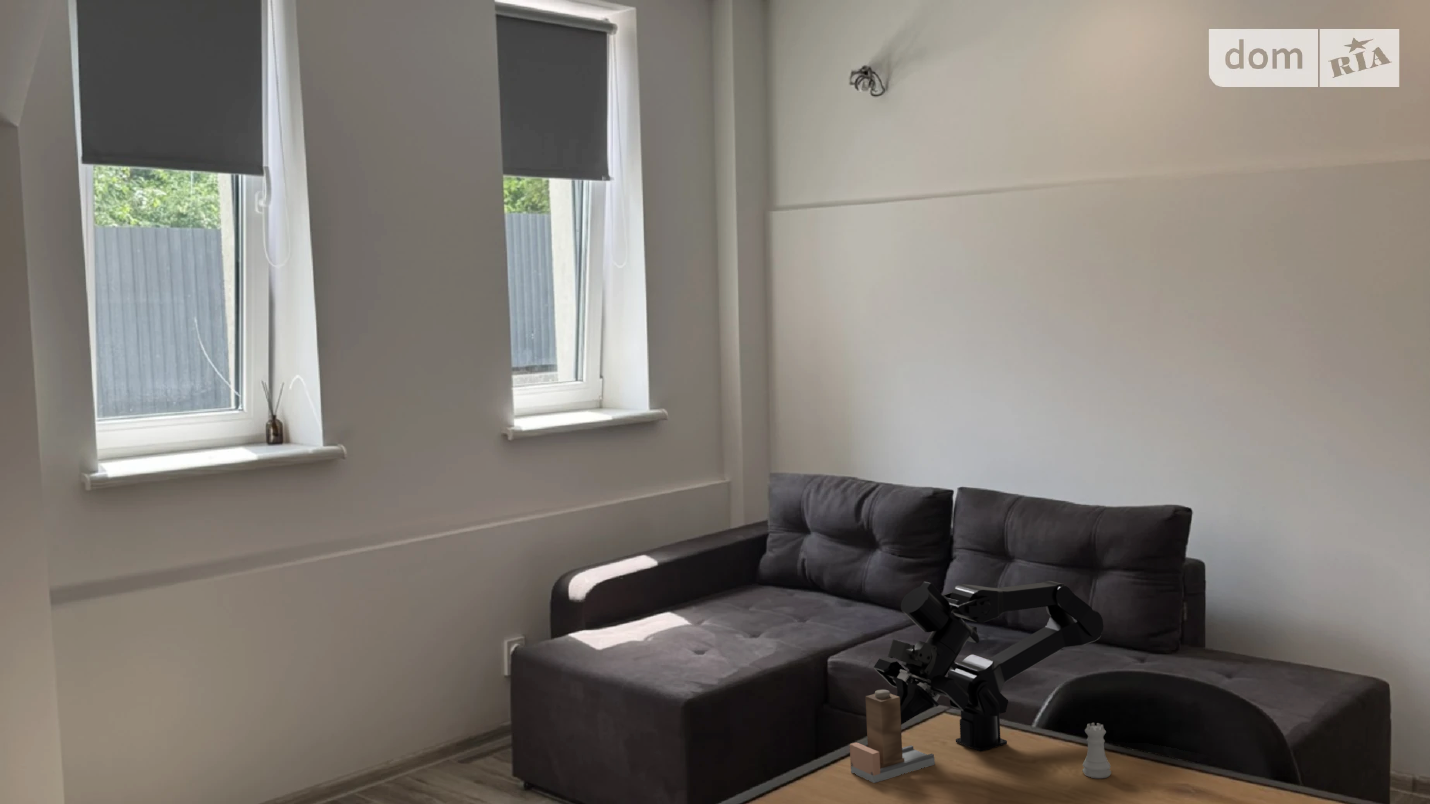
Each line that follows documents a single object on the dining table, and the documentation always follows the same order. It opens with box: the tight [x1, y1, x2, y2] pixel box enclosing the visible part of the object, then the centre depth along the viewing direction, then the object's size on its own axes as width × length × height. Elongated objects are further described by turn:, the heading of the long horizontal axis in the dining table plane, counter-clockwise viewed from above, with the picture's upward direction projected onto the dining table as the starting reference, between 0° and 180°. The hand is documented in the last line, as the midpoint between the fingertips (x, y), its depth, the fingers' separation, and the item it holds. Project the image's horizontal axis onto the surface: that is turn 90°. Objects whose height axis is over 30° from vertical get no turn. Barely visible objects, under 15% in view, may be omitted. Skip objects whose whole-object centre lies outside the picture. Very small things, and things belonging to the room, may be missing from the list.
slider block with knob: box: [865, 689, 905, 769], centre depth 197 cm, size 5×4×12 cm
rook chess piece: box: [1082, 722, 1112, 780], centre depth 191 cm, size 4×4×8 cm
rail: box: [849, 742, 936, 784], centre depth 198 cm, size 13×6×5 cm, turn 121°
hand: (894, 725), depth 198 cm, fingers closed
